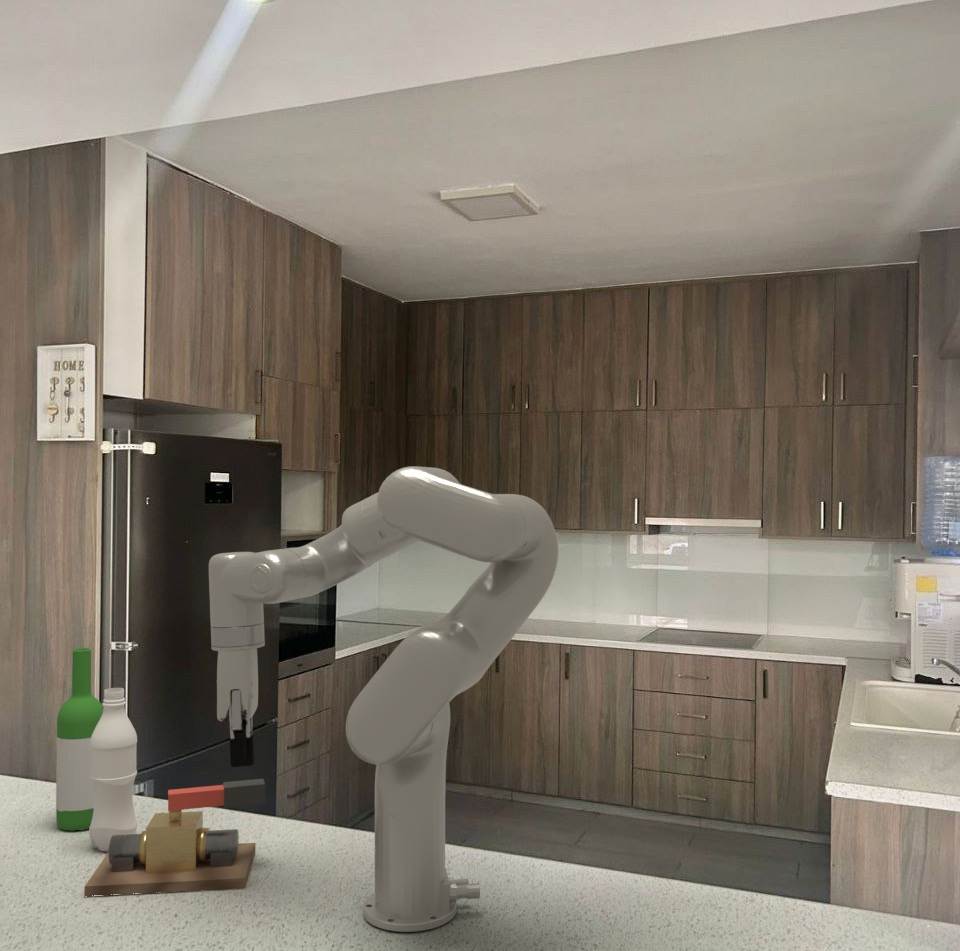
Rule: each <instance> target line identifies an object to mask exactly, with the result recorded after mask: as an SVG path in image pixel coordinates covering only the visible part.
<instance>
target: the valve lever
mask: <svg viewBox="0 0 960 951" xmlns="http://www.w3.org/2000/svg"><path fill="white" fill-rule="evenodd" d="M167 795H168V796H167V797H168V798H167V800H168V801H167V805H168V806H167V812H168V813H169V819H179V818H181V814H182V812H183V811H184V810H191V809H204V808H214V807H222V806H223V809H229V808H239V807H249V806H251V807H252V806H260V805H266V782H265V780H264V778H256V779H255V778H254V779H244V780H243V779H242V780H233V781H223V782H222V784H218V785H208V786H197V787H187V788H186V787H185V788H175V789H168V791H167Z"/></svg>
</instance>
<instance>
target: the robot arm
mask: <svg viewBox="0 0 960 951" xmlns="http://www.w3.org/2000/svg"><path fill="white" fill-rule="evenodd" d="M420 541H421V542H423V543H427V544H429V545H432V546H435V547H437V548H441V549H443V550H446V551H448V552H451V553H454V554H457V555H459V556H462V557H464V558H467V559H470V560H474V561H478V562H482V563H489V565H488V566H487V567H486V569H484V570H483V572H482V573H481V574H480V575H479V576H477V578H476V579H475V580H474V581H473V583H471V585H470V586H469V587H468V589H467V590H466V591H465V593H464V595H462V597H461V598H460V600H459V601H458V602H456V603H455V605H454V606H453V607H452V609H451V610H450V611H449V612H448V613H447V614H445V616H443V618H441V619H440V620H438V621H435V622H432V623H430V624H427V625H423V626H422V627H419V628H417V629H416V630H414V631H413V632H411V633H410V634H409V635H407V636H406V637H405V638H404V639H403V640H402V641H401V642H400V643H399V644H398V645H397V646H396V647H395V648H394V650H393V651H392V652H391V654H390V655H389V656H388V657H387V658H386V659H385V661H384V662H383V663H382V665H381V666H380V667H379V669H378V670H377V671H376V672H375V673H374V674H373V676H372V677H371V679H370V680H369V681H368V682H367V684H366V685H365V686H364V687H363V689H362V690H361V691H360V692H359V694H358V695H357V697H356V698H355V699H354V700H353V702H352V704H351V706H350V708H349V710H348V712H347V716H346V721H345V736H346V740H347V743H348V745H349V747H350V749H351V751H352V752H353V753H354V754H355V755H356V757H358V758H359V759H361V761H363V762H365V763H367V764H371V765H376V766H375V777H374V893H372V894H371V895H370V896H368V897H367V898H366V899H365V901H364V902H363V905H362V915H363V917H364V919H365V920H366V922H368V923H369V924H370V925H372V926H374V927H376V928H377V929H378V928H379V929H382V930H385V931H390V932H397V933H399V932H400V933H415V932H422V931H427V930H428V931H429V930H432V929H436V928H438V927H440V926H443V925H445V924H447V923H449V922H450V921H451V920H452V919H453V918H454V917H455V916H456V914H457V913H458V912H457V910H458V908H457V907H458V905H457V904H458V903H457V902H458V900H461V899H463V900H464V899H466V900H473V899H474V900H475V899H477V900H478V899H481V886H480V883H479V882H478V883H477V882H476V883H475V882H474V883H472V882H471V883H470V881H469V878H468V877H467V878H457V879H452V877H449V876H448V872H447V868H446V772H447V771H446V770H447V768H446V767H447V751H448V745H449V744H448V743H449V736H450V728H451V707H450V703H451V701H452V700H453V699H454V698H455V697H456V696H458V695H459V694H461V693H463V692H465V691H467V690H468V689H470V688H472V687H474V685H476V684H477V683H478V682H479V681H480V680H481V679H482V678H483V677H484V675H485V674H486V672H487V671H488V669H489V668H490V667H491V666H492V664H493V663H494V662H495V660H496V659H497V658H498V657H499V655H500V654H501V653H502V652H503V650H504V649H505V648H506V647H507V645H508V644H509V643H510V641H511V640H512V639H513V638H514V636H515V635H516V634H517V632H518V631H519V629H521V627H522V626H523V624H525V622H526V621H527V620H528V618H529V617H530V616H531V614H532V613H533V612H534V611H535V609H536V608H537V607H538V605H539V604H540V602H541V601H542V600H543V598H544V597H545V595H546V593H547V591H548V590H549V588H550V586H551V584H552V581H553V579H554V577H555V573H556V570H557V566H558V562H559V561H558V558H559V544H558V543H559V542H558V537H557V532H556V529H555V527H554V524H553V522H552V520H551V518H550V516H549V514H548V512H547V511H546V509H545V508H544V507H543V506H542V505H541V504H540V503H539V502H537V501H536V500H534V499H532V498H531V497H529V496H526V495H522V494H515V493H491V492H487V491H485V490H484V491H483V490H480V489H477V488H474V487H471V486H468V485H465V484H462V483H460V482H459V480H458V479H457V478H456V477H455V476H454V474H453V475H452V473H451V472H449V471H447V470H444V469H441V468H439V467H432V466H430V467H429V466H418V465H417V466H405V467H402V468H399V469H396V470H395V471H393V472H391V473H390V474H389V475H388V476H387V477H386V478H385V480H383V482H382V483H381V485H380V487H379V489H378V492H376V493H374V494H372V495H370V496H368V497H365V498H364V499H362V500H361V501H359V502H356V503H354V504H352V505H351V506H349V507H347V508H346V509H345V510H344V511H343V513H342V518H341V524H340V526H338V527H336V529H333V530H332V531H331V532H328V533H327V534H325V535H323V536H321V537H319V538H317V539H315V540H312V541H311V542H308V543H307V544H305V545H302V546H298V547H287V548H285V547H284V548H279V549H271V550H270V549H269V550H263V551H259V552H255V551H254V552H253V551H234V552H233V551H231V552H221V553H218V554H214V555H213V556H211V557H210V559H209V562H208V587H209V590H208V592H209V612H210V613H209V618H210V620H209V621H210V638H211V639H210V640H211V641H210V642H211V650H212V651H216V652H217V663H216V664H217V665H216V719H217V720H218V721H219V722H223V721H224V720H225V719H226V718H227V716H228V717H229V719H228V721H229V734H230V735H229V736H230V738H229V755H230V766H231V767H232V768H239V767H249V766H251V767H252V766H254V763H255V759H256V758H255V739H254V738H255V736H254V735H253V734H254V733H253V729H254V727H253V716H254V715H255V713H256V710H258V706H259V664H258V662H259V661H258V649H259V648H262V647H264V646H265V645H266V642H265V639H266V638H265V617H264V616H265V614H264V613H265V612H264V604H266V605H273V604H274V605H275V604H280V603H285V602H290V601H293V600H298V599H305V598H310V597H312V596H315V595H317V594H319V593H322V592H324V591H325V590H328V589H330V588H332V587H334V586H336V585H338V584H340V583H343V582H345V581H346V580H349V579H351V578H352V577H354V576H355V575H357V574H359V573H361V572H362V571H364V570H366V569H368V568H370V567H371V566H373V565H375V563H378V562H379V561H381V560H384V559H385V558H387V557H389V556H391V555H393V554H395V553H397V552H399V551H401V550H403V549H406V548H407V547H409V546H411V545H413V544H415V543H417V542H420Z"/></svg>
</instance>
